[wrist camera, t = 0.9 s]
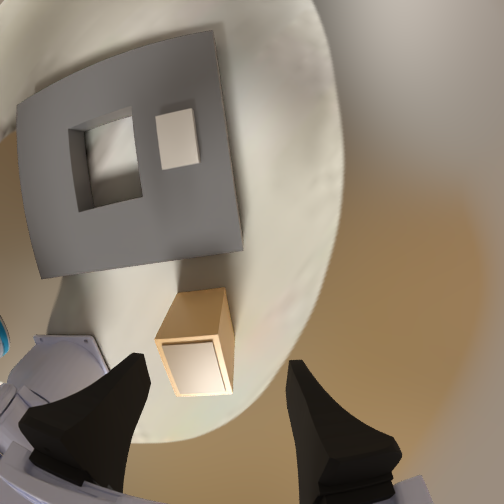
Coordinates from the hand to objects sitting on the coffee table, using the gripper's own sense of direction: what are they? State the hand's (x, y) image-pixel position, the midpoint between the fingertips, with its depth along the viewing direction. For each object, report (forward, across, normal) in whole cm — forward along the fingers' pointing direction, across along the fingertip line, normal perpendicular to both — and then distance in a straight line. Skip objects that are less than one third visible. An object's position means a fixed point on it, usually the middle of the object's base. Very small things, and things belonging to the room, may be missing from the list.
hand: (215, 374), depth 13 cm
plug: (+10, +2, +3) cm, 11 cm away
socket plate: (+10, +9, -10) cm, 17 cm away
